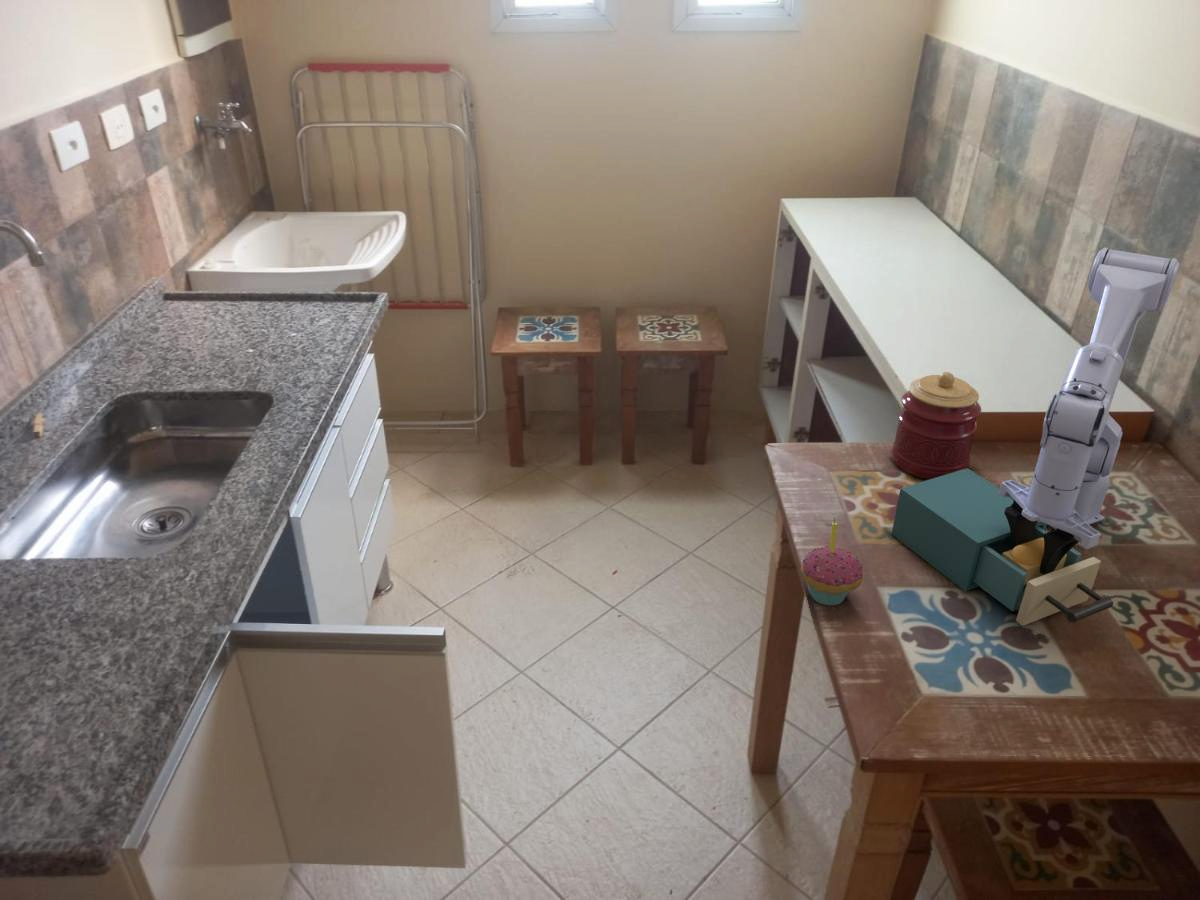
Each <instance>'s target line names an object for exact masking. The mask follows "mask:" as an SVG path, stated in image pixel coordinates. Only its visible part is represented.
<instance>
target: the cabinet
mask: <svg viewBox="0 0 1200 900" xmlns="http://www.w3.org/2000/svg"><path fill="white" fill-rule="evenodd" d="M999 490H1000V487H999V486H997V485H995V484H994V483H992V482H990V481H989V480H987V479H986V478H984V477H983V476H982V475H979V474H978V473H976V472H975V471H974V470H971V469H970V468H968V467H966V469H963V470H960V471H957V472H953V473H950V474H947V475H943V476H940V477H937V478H933V479H926V480H924V481H921V482H917V483H914V484H910V485H907V486H904V487H900V489H899V493H898V498H897V504H896V509H895V514H894V519H893V523H892V528H891V529H892V530H891V535H892V536H893V537H894V538H896V540H898V541H900V542H901V543H902V544H904V545H905V546H906V547H908V549H910V550H911V551H913V553H915V554H917V556H919V557H920V558H921V559H923V560H924V561H925V562H927V563H928V564H929V565H931V566H932V567H933V568H935V569H936V570H937V571H939V572H940V573H941V574H942V575H943V576H945V577H946V578H947V579H948V580H950V581H952V583H954V584H955V585H956V586H958V587H959V588H960V589H962V590H963V592H968V591H971V590H973V589H976V588H979V587H980V586H978V585H977V584H976V583H974V582H973V581H972V579H973V575H974V571H975V567H976V563H977V559H978V556H979V552H980V548H981V546H983V545H986V544H989V543H992V542H995V541H997V540H1000V539H1003V538H1006V537H1009V536H1011V531H1010V527H1009V523H1008V520H1007V518H1006V516H1005V514H1004V512H1005V508H1007V507H1009V506H1011V505H1012V504H1013V501H1014V500H1013V499H1011V498H1009V497H1008V496H1007V497H1003V496H1001V495H1000V494H999ZM1038 526H1039V527H1040V528H1042V529H1043V530H1045V531H1046V529H1047V526H1048V525H1047V524H1045V523H1043V522H1040V521H1038V522H1037V524H1036V526H1035V527H1038Z"/></svg>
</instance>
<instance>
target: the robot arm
mask: <svg viewBox="0 0 1200 900" xmlns="http://www.w3.org/2000/svg"><path fill="white" fill-rule="evenodd" d="M1180 265H1181V264H1180V262H1179V261H1178V258H1176V257H1173V258H1167V257H1161V256H1154V255H1148V254H1142V253H1137V252H1136V253H1135V252H1128V251H1123V250H1115V249H1110V248H1109V247H1103V248H1102V249H1100V250H1099V251H1098V252H1097V254H1096V256H1095V259H1094V261H1093V263H1092V267H1091V269H1090V274H1089V277H1088V281H1087V285H1086V286H1087V290H1088V294H1089V295H1090V297H1089V298H1090V299H1092V300H1093V301H1094V302H1095V303H1097V304H1099V308H1098V311H1097V315H1096V317H1095V318H1096V319H1095V322H1094V326H1093V330H1092V334H1091V337H1090V341H1089V343H1088V344H1087V345H1084V346H1082V347H1080V348H1078V349H1077V350H1076V351H1075V352H1074V355H1073V357H1072V359H1071V362H1070V365H1069V367H1068V369H1067V372H1066V375H1065V376H1064V380H1063V382H1062V384H1061V386H1060V389H1059V392H1058V394H1057V393H1054V394H1053V396H1052V397H1051V399H1050V401H1049V404H1048V406H1047V409H1046V412H1045V416H1044V419H1043V424H1042V434H1041V439H1040V442H1039V443H1040V444H1039V446H1040V451H1039V455H1038V458H1037V462H1036V465H1035V469H1034V471H1033V476H1032V479H1031V482H1030V486H1026V485H1024V484H1022V483H1019V482H1018V481H1016V480H1013V479H1008V480H1005V481H1002V482H1001V483H1000V486H999V488H1000V490H999V494H1000V495H1001V496H1003V497H1007V496H1008V497H1009V498H1011V499H1013V500H1014V501H1013V504H1012V505H1011V506H1009V507H1007V508H1005V512H1004V514H1005V516H1006V518H1007V520H1008V523H1009V527H1010V531H1011V540H1012V549H1013V548H1015V547H1016V546H1018V545H1021V544H1024V543H1027V542H1029V541H1031V537H1032V534H1033V531H1034V529H1035V526H1036V524H1037V522H1038V521H1040V522H1043V523H1045V524H1047V526H1049V527H1050V528H1052V529H1053V530H1051V531H1047V532H1048V533H1045V534H1044V536H1043V537H1044V554H1043V558H1042V561H1041V565H1040V573H1042V574H1043V575H1045V574H1048V573H1050V572H1053V571H1054V570H1055V568H1056V567H1057V565H1058V564H1059V562H1060V561H1061V560H1062V558H1063V557H1064V556H1065V555H1066V554H1067V553H1068V552H1069V551H1070V550H1071V549H1072V548H1073V549H1074V547H1076V545H1077V544H1079V543H1080V544H1079V545H1080V547H1082V548H1083V549H1085V550H1088V549H1091V548H1094V547H1097V546H1098V544H1099V541H1100V538H1101V536H1102V533H1100V532H1099V531H1098V530H1096V529H1095V528H1094V527H1093V526H1091V525H1092V524H1095V523H1098V522H1101V521H1104V519H1105V516H1103V515H1102V514H1101V511H1102V508H1103V505H1104V503H1105V499H1106V496H1107V494H1108V491H1109V488H1110V484H1111V483H1110V474H1111V471H1112V469H1113V466H1114V463H1115V461H1116V457H1117V454H1118V453H1119V449H1120V446H1121V440H1122V436H1123V433H1124V432H1123V429H1122V427H1121V426H1120V424H1119V423H1118V422H1117V421H1116V420H1115V419H1114V418H1113V417H1112V416H1111V415H1110V408H1111V406H1112V402H1113V399H1114V396H1115V392H1116V390H1117V387H1118V384H1119V381H1120V377H1121V374H1122V372H1123V368H1124V364H1125V363H1126V360H1127V356H1128V353H1129V350H1130V348H1131V344H1132V340H1133V337H1134V335H1135V332H1136V329H1137V326H1138V323H1139V321H1140V320H1141V319H1142V318H1143V317H1144V316H1145V315H1146V313H1154V312H1161V311H1162V310H1163V309H1164V308H1165V306H1166V304H1167V302H1168V300H1169V297H1170V295H1171V292H1172V289H1173V286H1174V284H1175V281H1176V277H1177V275H1178V272H1179V268H1180Z"/></svg>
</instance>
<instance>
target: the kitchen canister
mask: <svg viewBox="0 0 1200 900" xmlns="http://www.w3.org/2000/svg"><path fill="white" fill-rule="evenodd" d="M979 399H980V395H979V392H978V391H977V390H976V389H975V388H974V387H973V386H972V385H970V384H969V383H968V382H966V381H965V380H963V379H961V378H958V377H955V376H954V375H953V373H952V372H950V371H944V372H942V373H940V374H930V375H926V376H923V377H921V378H917V379H915V380H913V381H911V382H910V384H909V386H908V390H907V391H906V392H905V393H903V395H902V396H901V404H902V406H903V407H902V409H901V410H900V411H899V413H898V422H897V427H896V433H895V438H894V441H893V443H892V449H891V451H892V460H893V463H894V464H895V465H896V466H897V467H898V468H899V469H901V470H902V471H903V472H905V473H907V474H910V475H911V476H914V477H917V478H921V479H924V480H925V479H926V480H930V479H933V478H937V477H940V476H943V475H947V474H950V473H953V472H957V471H960V470H963V469H967V468H968V467H969V463H970V459H971V451H972V446H973V442H974V438H975V434H976V432H977V429H978V424H977V422H976V421H977V418H979V416H980V415H981V413H982V407H981V405H980V403H979V402H978V401H979Z"/></svg>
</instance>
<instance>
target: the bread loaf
mask: <svg viewBox="0 0 1200 900" xmlns="http://www.w3.org/2000/svg"><path fill="white" fill-rule="evenodd" d="M1043 554H1044V538H1038V539H1035V540H1032V541H1029V542H1027V543H1024V544H1021V545H1018V546H1016V547H1015V548H1013V549H1012V550H1010V551H1007V552H1004V553H1003V554H1002V556H1003V557H1004V558H1005V559H1007V560H1008V561H1010V562H1011V563H1013V564H1014V565H1015V566H1017V567H1018V568H1020V569H1021V570H1022V571H1024V572H1025V573H1027V577H1026V580H1025V583H1024V585H1025V584H1027V582H1028V581H1030V580H1033V579H1035V578H1038V577H1041V576H1043V574H1042V573H1040V565H1041V561H1042V558H1043ZM1066 557H1067V555H1065V556H1064V557H1063V558H1062V560H1061V561H1060V562H1059V564H1058V565H1057V567H1056V568H1055V570H1054V571H1057V570H1060V569H1062V568H1063V566H1064V563H1065V560H1066ZM1054 571H1053V572H1054ZM1050 573H1052V572H1050ZM1048 574H1049V573H1048ZM1045 575H1046V574H1045Z"/></svg>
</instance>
